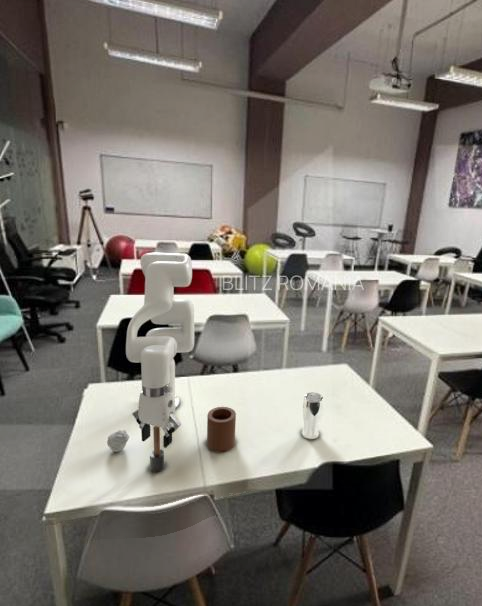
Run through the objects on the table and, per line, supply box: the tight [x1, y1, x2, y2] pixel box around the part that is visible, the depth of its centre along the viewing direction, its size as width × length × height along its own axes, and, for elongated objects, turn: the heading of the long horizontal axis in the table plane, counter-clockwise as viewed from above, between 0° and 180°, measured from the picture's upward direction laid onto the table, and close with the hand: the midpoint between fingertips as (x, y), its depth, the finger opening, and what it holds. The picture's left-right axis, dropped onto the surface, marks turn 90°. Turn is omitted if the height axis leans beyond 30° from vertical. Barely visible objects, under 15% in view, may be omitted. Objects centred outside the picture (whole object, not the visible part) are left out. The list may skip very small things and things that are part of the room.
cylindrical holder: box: [206, 406, 237, 453], centre depth 127 cm, size 9×9×11 cm
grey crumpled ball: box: [106, 429, 130, 453], centre depth 121 cm, size 6×7×7 cm
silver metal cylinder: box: [301, 392, 324, 440], centre depth 135 cm, size 7×7×15 cm
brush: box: [149, 426, 165, 473], centre depth 113 cm, size 4×4×14 cm
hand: (156, 441), depth 113 cm, fingers open, 6 cm apart
